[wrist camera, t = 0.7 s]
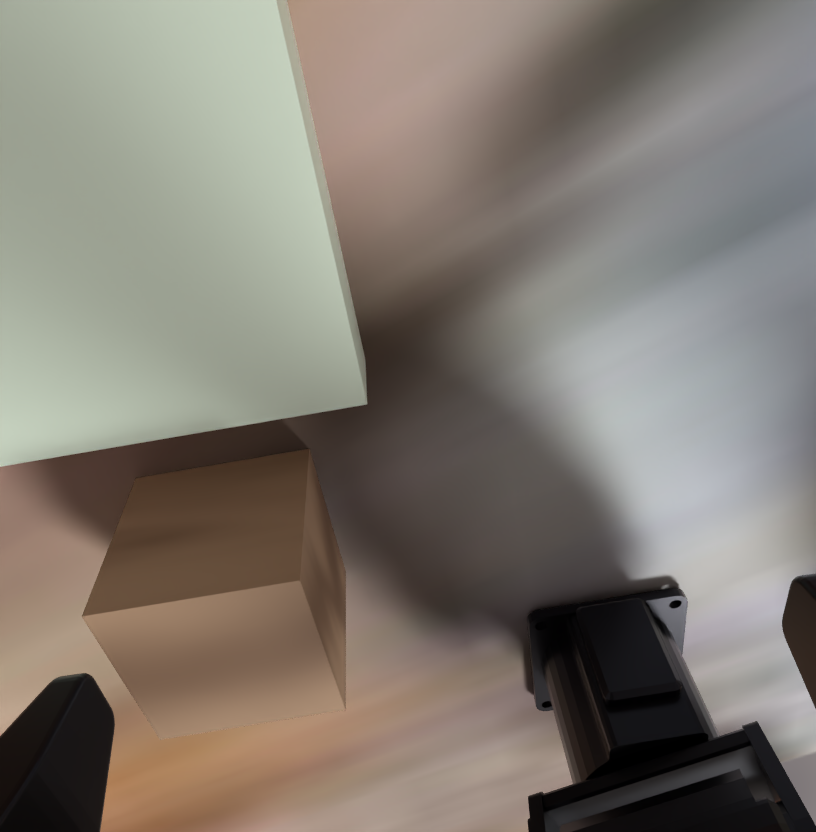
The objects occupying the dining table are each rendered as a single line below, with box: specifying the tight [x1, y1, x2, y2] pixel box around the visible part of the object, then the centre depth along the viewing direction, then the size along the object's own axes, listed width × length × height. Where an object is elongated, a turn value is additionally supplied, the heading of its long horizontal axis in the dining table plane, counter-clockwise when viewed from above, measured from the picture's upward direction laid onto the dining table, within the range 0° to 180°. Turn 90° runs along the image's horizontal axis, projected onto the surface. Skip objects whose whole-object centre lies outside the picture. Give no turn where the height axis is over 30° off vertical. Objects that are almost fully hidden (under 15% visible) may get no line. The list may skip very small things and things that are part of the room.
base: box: [0, 0, 367, 467], centre depth 18 cm, size 11×11×3 cm
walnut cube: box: [82, 449, 346, 740], centre depth 23 cm, size 6×6×6 cm
